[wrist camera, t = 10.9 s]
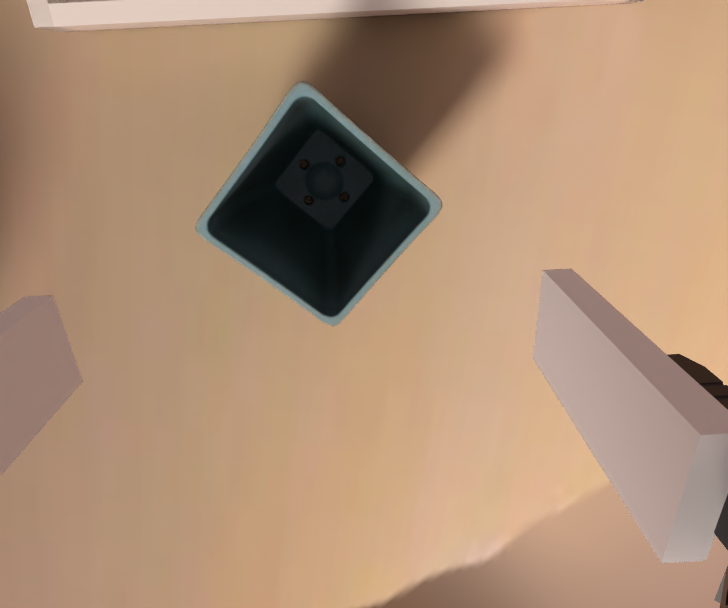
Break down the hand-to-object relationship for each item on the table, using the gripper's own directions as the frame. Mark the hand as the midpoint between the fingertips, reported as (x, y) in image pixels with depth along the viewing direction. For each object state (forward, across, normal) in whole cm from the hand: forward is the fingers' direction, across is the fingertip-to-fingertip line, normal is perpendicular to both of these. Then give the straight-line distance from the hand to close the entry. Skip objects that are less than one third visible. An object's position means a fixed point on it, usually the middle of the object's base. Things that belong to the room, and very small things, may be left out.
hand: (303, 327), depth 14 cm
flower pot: (+20, 0, 0) cm, 20 cm away
